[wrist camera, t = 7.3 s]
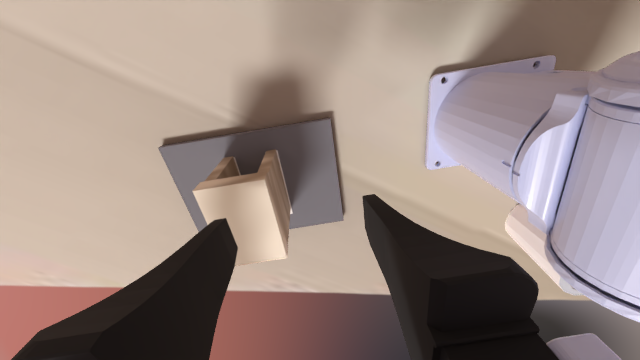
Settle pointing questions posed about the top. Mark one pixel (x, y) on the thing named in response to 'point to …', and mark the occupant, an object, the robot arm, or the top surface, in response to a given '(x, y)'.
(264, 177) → the two-pronged tan block
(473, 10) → the top surface
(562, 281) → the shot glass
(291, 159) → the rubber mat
